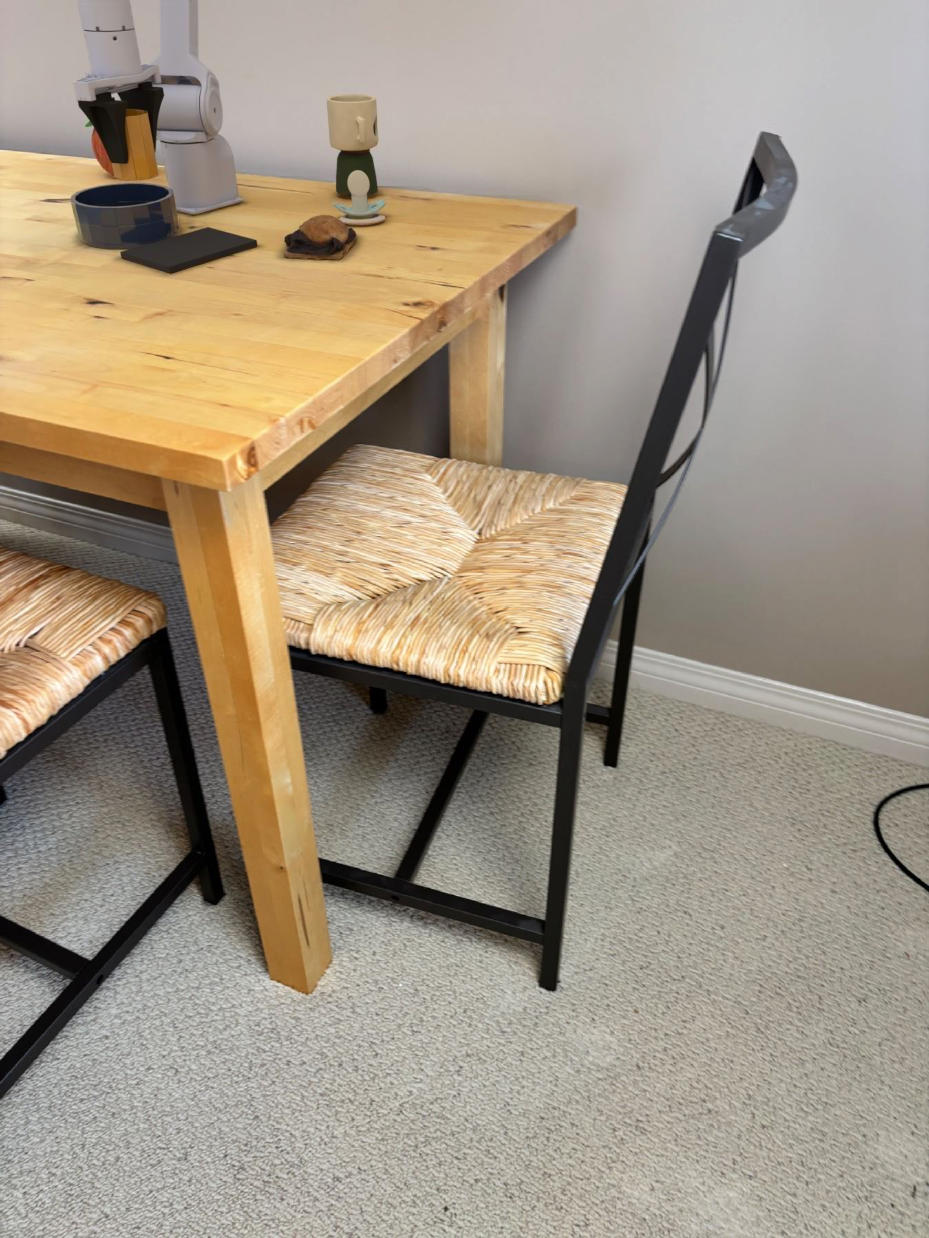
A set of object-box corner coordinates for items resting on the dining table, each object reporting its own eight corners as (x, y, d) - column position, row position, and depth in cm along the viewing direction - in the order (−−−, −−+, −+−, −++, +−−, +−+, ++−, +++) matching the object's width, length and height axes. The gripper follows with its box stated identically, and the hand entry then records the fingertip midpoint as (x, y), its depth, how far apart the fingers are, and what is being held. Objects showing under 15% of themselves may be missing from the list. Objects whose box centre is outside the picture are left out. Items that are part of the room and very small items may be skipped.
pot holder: (209, 233, 125) (208, 227, 125) (257, 246, 121) (256, 240, 120) (121, 258, 117) (119, 251, 116) (170, 273, 112) (169, 266, 112)
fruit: (98, 171, 153) (83, 102, 147) (158, 168, 155) (146, 100, 148) (95, 183, 146) (79, 112, 140) (158, 180, 148) (145, 109, 142)
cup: (140, 168, 121) (129, 107, 116) (167, 174, 118) (157, 112, 114) (105, 175, 117) (92, 113, 113) (132, 182, 115) (120, 118, 110)
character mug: (390, 202, 139) (386, 103, 131) (344, 206, 136) (337, 106, 128) (369, 185, 146) (364, 90, 139) (325, 189, 144) (317, 93, 136)
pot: (140, 216, 132) (132, 178, 129) (200, 232, 126) (193, 193, 123) (60, 237, 124) (50, 196, 121) (119, 255, 118) (110, 213, 114)
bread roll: (301, 234, 126) (298, 205, 123) (362, 237, 125) (360, 207, 122) (277, 258, 117) (273, 227, 115) (343, 261, 116) (340, 230, 114)
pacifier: (390, 226, 129) (383, 213, 133) (389, 178, 125) (382, 166, 129) (337, 229, 128) (332, 216, 132) (334, 180, 124) (329, 168, 128)
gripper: (116, 21, 115) (139, 144, 123) (39, 34, 104) (70, 167, 112) (166, 24, 113) (186, 147, 121) (93, 37, 102) (120, 172, 110)
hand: (133, 157), depth 117 cm, fingers closed on cup, 5 cm apart
